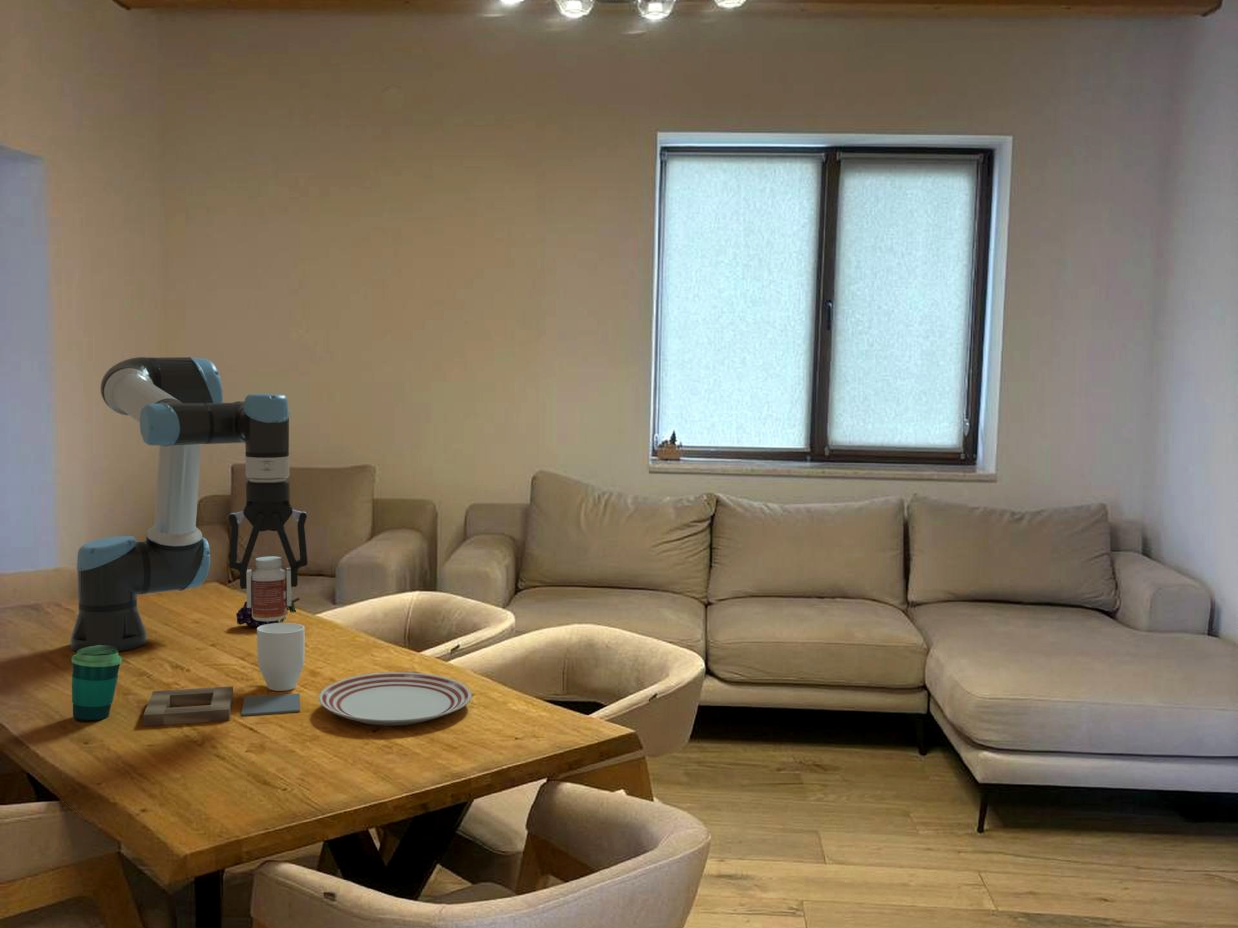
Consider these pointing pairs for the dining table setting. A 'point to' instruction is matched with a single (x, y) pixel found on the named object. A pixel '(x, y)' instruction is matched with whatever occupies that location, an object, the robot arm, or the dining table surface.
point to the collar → (164, 715)
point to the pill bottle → (269, 589)
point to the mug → (281, 654)
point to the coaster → (271, 704)
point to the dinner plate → (394, 698)
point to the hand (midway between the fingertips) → (269, 604)
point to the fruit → (246, 617)
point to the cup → (94, 682)
